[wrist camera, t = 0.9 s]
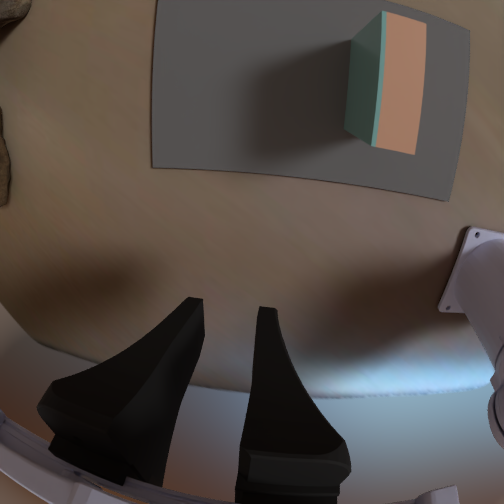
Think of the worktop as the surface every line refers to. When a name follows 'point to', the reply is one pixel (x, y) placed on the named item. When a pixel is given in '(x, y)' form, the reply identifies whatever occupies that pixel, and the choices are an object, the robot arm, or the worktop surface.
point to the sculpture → (3, 11)
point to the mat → (295, 93)
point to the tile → (387, 82)
